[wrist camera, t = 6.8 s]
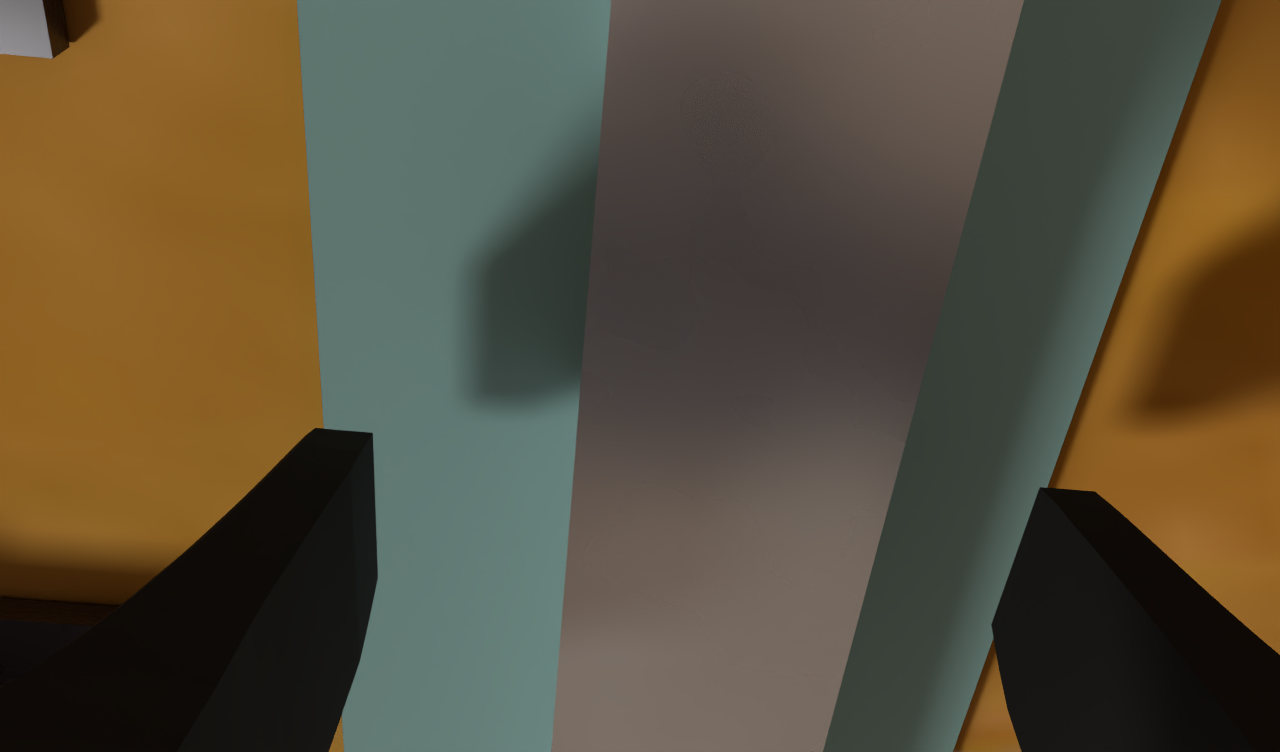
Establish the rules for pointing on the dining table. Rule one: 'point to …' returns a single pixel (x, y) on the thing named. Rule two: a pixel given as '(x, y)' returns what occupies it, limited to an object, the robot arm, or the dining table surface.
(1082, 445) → the dining table surface
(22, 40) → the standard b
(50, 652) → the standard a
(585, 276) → the mat
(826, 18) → the rail
